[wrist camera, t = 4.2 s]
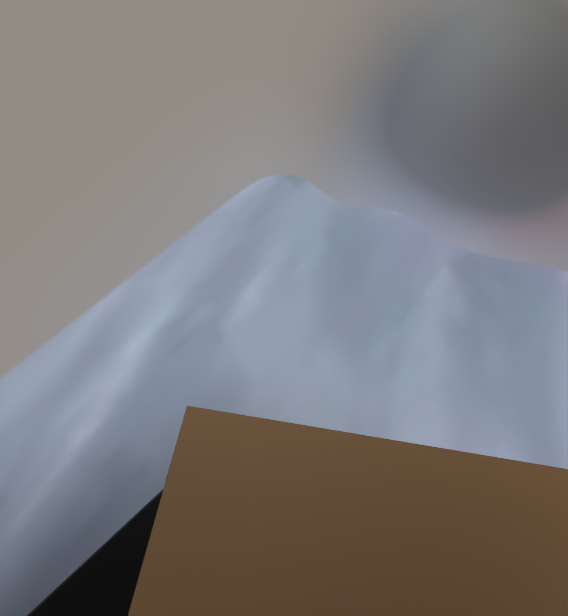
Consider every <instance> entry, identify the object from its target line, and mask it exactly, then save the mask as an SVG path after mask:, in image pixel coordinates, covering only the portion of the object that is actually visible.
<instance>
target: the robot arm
mask: <svg viewBox="0 0 568 616" xmlns="http://www.w3.org/2000/svg"><path fill="white" fill-rule="evenodd" d="M163 490H164V489H163ZM163 490H162V491H161V492H160V493H159V494H157V495H156V496H155V497H154V498H153V499H152V500H151V501H150V502H149V503H148V504H147V505H146V506H145V507H143V508H142V509H141V510H140V511H139V512H138V513H137V514H136V515H135V516H134V517H133V518H132V519H131V520H129V521H128V522H127V523H126V524H125V525H124V526H123V527H122V528H121V529H120V530H119V531H118V532H117V533H115V534H114V535H113V536H112V537H111V538H110V539H109V540H108V541H107V542H106V543H105V544H104V545H103V546H101V547H100V548H99V549H98V550H97V551H96V552H95V553H94V554H93V555H92V556H91V557H90V558H89V559H87V560H86V561H85V562H84V563H83V564H82V565H81V566H80V567H79V568H78V569H77V570H76V571H75V572H73V573H72V574H71V575H70V576H69V577H68V578H67V579H66V580H65V581H64V582H63V583H62V584H61V585H59V586H58V587H57V588H56V589H55V590H54V591H53V592H52V593H51V594H50V595H49V596H48V597H47V598H45V599H44V600H43V601H42V602H41V603H40V604H39V605H38V606H37V607H36V608H35V609H34V610H33V611H31V612H30V613H29V614H28V615H27V616H128V614H129V610H130V606H131V603H132V599H133V596H134V592H135V589H136V585H137V582H138V578H139V575H140V571H141V568H142V564H143V560H144V557H145V553H146V550H147V546H148V543H149V539H150V536H151V532H152V529H153V525H154V521H155V518H156V514H157V511H158V507H159V504H160V500H161V497H162V493H163Z"/></svg>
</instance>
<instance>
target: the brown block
mask: <svg viewBox="0 0 568 616" xmlns="http://www.w3.org/2000/svg"><path fill="white" fill-rule="evenodd" d="M128 616H568V469H563V468H557V467H551V466H545V465H539V464H533V463H527V462H521V461H515V460H509V459H503V458H497V457H491V456H485V455H479V454H473V453H467V452H461V451H455V450H449V449H443V448H437V447H431V446H425V445H419V444H413V443H407V442H401V441H395V440H389V439H383V438H377V437H371V436H365V435H359V434H353V433H347V432H341V431H335V430H329V429H323V428H317V427H311V426H305V425H299V424H293V423H287V422H281V421H275V420H269V419H263V418H257V417H251V416H245V415H239V414H233V413H227V412H221V411H215V410H209V409H203V408H197V407H191V406H187V408H186V412H185V415H184V419H183V422H182V426H181V429H180V433H179V436H178V440H177V443H176V447H175V451H174V454H173V458H172V461H171V465H170V468H169V472H168V475H167V479H166V482H165V486H164V490H163V493H162V497H161V500H160V504H159V507H158V511H157V514H156V518H155V521H154V525H153V529H152V532H151V536H150V539H149V543H148V546H147V550H146V553H145V557H144V560H143V564H142V568H141V571H140V575H139V578H138V582H137V585H136V589H135V592H134V596H133V599H132V603H131V606H130V610H129V614H128Z"/></svg>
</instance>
